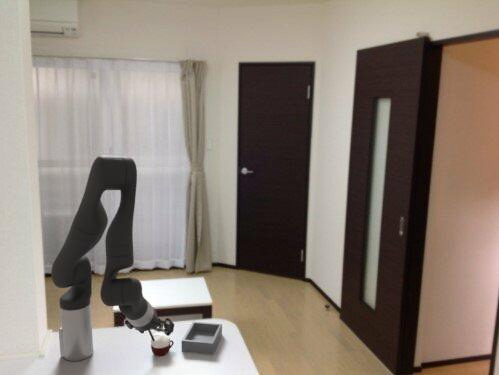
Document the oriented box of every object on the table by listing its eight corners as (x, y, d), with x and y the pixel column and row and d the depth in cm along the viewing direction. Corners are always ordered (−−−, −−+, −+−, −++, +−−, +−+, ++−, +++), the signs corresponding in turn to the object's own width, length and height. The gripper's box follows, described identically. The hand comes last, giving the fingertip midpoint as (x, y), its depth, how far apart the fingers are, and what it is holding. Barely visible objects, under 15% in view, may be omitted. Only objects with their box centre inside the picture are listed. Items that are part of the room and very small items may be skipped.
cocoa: (173, 348, 159) (173, 314, 157) (174, 357, 153) (174, 322, 151) (144, 350, 157) (144, 315, 155) (144, 359, 151) (144, 324, 149)
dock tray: (181, 351, 156) (181, 340, 155) (193, 332, 169) (192, 321, 168) (212, 354, 154) (212, 343, 154) (222, 334, 168) (222, 324, 167)
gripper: (167, 303, 138) (179, 321, 151) (121, 299, 140) (137, 318, 153) (161, 328, 134) (175, 345, 147) (113, 324, 136) (131, 341, 149)
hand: (155, 331), depth 150 cm, fingers open, 8 cm apart
